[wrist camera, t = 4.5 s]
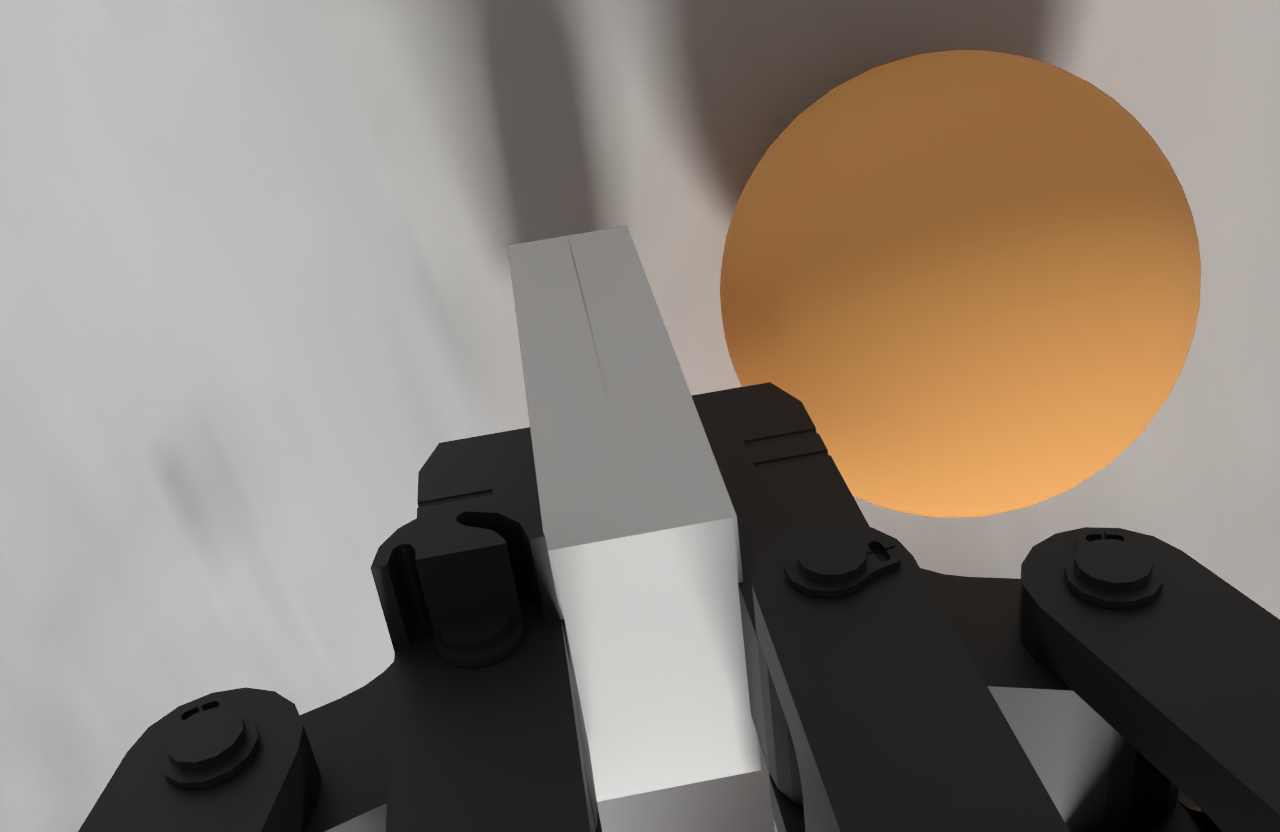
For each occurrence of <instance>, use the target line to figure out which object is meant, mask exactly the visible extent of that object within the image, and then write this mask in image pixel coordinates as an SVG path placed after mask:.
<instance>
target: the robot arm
mask: <svg viewBox="0 0 1280 832" xmlns="http://www.w3.org/2000/svg"><path fill="white" fill-rule="evenodd" d="M508 252H509V260H510V269H511V277H512V285H513V293H514V301H515V309H516V317H517V325H518V333H519V341H520V349H521V357H522V365H523V373H524V381H525V389H526V397H527V406H528V414H529V422H530V427H529V428H523V429H518V430H512V431H506V432H500V433H495V434H489V435H483V436H477V437H472V438H466V439H460V440H454V441H448V442H443V443H439V444H438V446H437V447H436V449H435V450H434V452H433V453H432V454H431V456H430V457H429V459H428V460H427V461H426V463H425V464H424V466H423V467H422V468H421V470H420V471H419V478H418V507H419V508H417V519H415V520H413V521H411V522H410V523H408V524H406V525H404V526H402V527H400V528H398V529H397V530H396V531H395V532H394V533H393V534H392V535H391V536H390V537H389V538H388V539H387V540H386V541H385V542H384V543H383V544H382V545H381V546H380V547H379V549H378V551H377V554H376V556H375V559H374V561H373V564H372V566H371V571H372V574H373V578H374V581H375V585H376V588H377V592H378V595H379V599H380V602H381V606H382V609H383V613H384V616H385V620H386V623H387V627H388V630H389V634H390V637H391V641H392V644H393V648H394V651H395V658H394V662H393V663H392V664H391V665H390V666H389V667H388V668H387V669H386V670H385V671H384V672H383V673H382V674H380V675H379V676H378V677H376V678H375V679H374V680H372V681H371V682H369V683H368V684H367V685H365V686H364V687H362V688H360V689H358V690H356V691H354V692H352V693H350V694H348V695H346V696H344V697H342V698H340V699H338V700H336V701H333V702H331V703H328V704H326V705H324V706H321V707H319V708H317V709H314V710H312V711H309V712H307V713H305V714H302V715H300V716H299V713H298V711H297V709H296V706H295V704H294V703H292V702H290V701H289V700H287V699H286V698H284V697H282V696H281V695H279V694H278V693H276V692H274V691H267V690H259V689H252V688H241V689H234V690H228V691H222V692H215V693H211V694H209V695H206V696H204V697H201V698H199V699H196V700H194V701H191V702H189V703H186V704H184V705H182V706H179V707H177V708H176V709H175V710H173V711H172V712H170V713H169V714H167V715H166V716H164V717H163V718H162V719H160V720H159V721H157V722H156V723H154V724H153V725H151V726H150V727H149V728H148V729H147V730H146V731H145V732H144V733H143V735H142V736H141V737H140V738H139V739H138V740H137V742H136V743H135V744H134V745H133V746H132V747H131V749H130V750H129V751H128V752H127V753H126V755H125V757H124V758H123V760H122V762H121V763H120V765H119V766H118V768H117V770H116V771H115V773H114V775H113V776H112V778H111V779H110V781H109V783H108V784H107V786H106V788H105V789H104V791H103V792H102V794H101V796H100V797H99V799H98V801H97V802H96V804H95V805H94V807H93V809H92V810H91V812H90V813H89V815H88V817H87V818H86V820H85V822H84V823H83V825H82V826H81V828H80V830H79V831H78V832H602V828H601V823H600V818H599V813H598V807H597V802H599V801H604V800H609V799H614V798H620V797H625V796H630V795H635V794H640V793H645V792H651V791H656V790H661V789H666V788H671V787H676V786H682V785H687V784H692V783H697V782H702V781H707V780H712V779H718V778H723V777H728V776H733V775H738V774H743V773H749V772H754V771H759V770H761V761H760V750H759V741H760V745H761V748H762V751H763V754H764V757H765V760H766V764H767V767H768V770H769V775H770V786H771V797H772V808H773V818H774V829H775V832H1280V620H1279V619H1278V618H1277V617H1275V616H1274V615H1272V614H1271V613H1269V612H1268V611H1267V610H1265V609H1264V608H1262V607H1261V606H1260V605H1258V604H1257V603H1255V602H1254V601H1252V600H1251V599H1250V598H1248V597H1247V596H1245V595H1244V594H1242V593H1241V592H1240V591H1238V590H1237V589H1235V588H1234V587H1233V586H1231V585H1230V584H1228V583H1227V582H1225V581H1224V580H1223V579H1221V578H1220V577H1218V576H1217V575H1215V574H1214V573H1213V572H1211V571H1210V570H1208V569H1207V568H1205V567H1204V566H1203V565H1201V564H1200V563H1198V562H1197V561H1196V560H1194V559H1193V558H1191V557H1190V556H1188V555H1187V554H1186V553H1184V552H1183V551H1181V550H1179V549H1177V548H1175V547H1173V546H1171V545H1169V544H1167V543H1165V542H1163V541H1161V540H1159V539H1157V538H1155V537H1154V536H1150V535H1145V534H1141V533H1137V532H1133V531H1129V530H1125V529H1120V528H1086V527H1085V528H1081V529H1076V530H1071V531H1067V532H1062V533H1057V534H1054V535H1053V536H1051V537H1049V538H1047V539H1046V540H1044V541H1042V542H1040V543H1039V544H1037V545H1035V546H1033V547H1032V549H1031V551H1030V552H1029V554H1028V555H1027V557H1026V558H1025V560H1024V562H1023V563H1022V565H1021V579H1009V578H978V577H963V576H954V575H944V574H940V573H936V572H933V571H929V570H925V569H921V568H920V567H919V566H918V564H917V562H916V560H915V559H914V557H913V556H912V554H911V553H910V552H909V551H908V550H907V549H906V548H905V547H904V546H903V545H902V544H901V543H900V542H899V541H898V540H897V539H895V538H893V537H891V536H889V535H887V534H884V533H882V532H880V531H878V530H876V529H874V528H871V527H869V525H868V523H867V521H866V520H865V518H864V516H863V514H862V512H861V510H860V508H859V507H858V505H857V503H856V501H855V499H854V497H853V496H852V494H851V492H850V490H849V488H848V486H847V484H846V483H845V481H844V479H843V477H842V475H841V473H840V472H839V470H838V468H837V466H836V464H835V462H834V460H833V459H832V457H831V455H828V449H827V448H826V446H825V444H824V442H823V440H822V438H821V436H820V435H819V433H818V434H817V432H816V427H815V425H814V424H813V422H812V420H811V418H810V416H809V414H808V412H807V411H806V409H805V407H804V405H803V403H802V402H801V401H800V400H798V399H796V398H795V397H793V396H792V395H790V394H788V393H787V392H785V391H784V390H782V389H780V388H779V387H777V386H776V385H774V384H772V383H771V382H768V383H762V384H757V385H751V386H745V387H739V388H733V389H728V390H722V391H716V392H710V393H705V394H699V395H693V396H691V394H690V391H689V388H688V386H687V383H686V380H685V378H684V375H683V372H682V370H681V367H680V365H679V362H678V359H677V357H676V354H675V351H674V349H673V346H672V343H671V341H670V338H669V335H668V333H667V330H666V327H665V325H664V322H663V319H662V317H661V314H660V311H659V309H658V306H657V304H656V301H655V298H654V296H653V293H652V290H651V288H650V285H649V282H648V280H647V277H646V274H645V272H644V269H643V266H642V264H641V261H640V258H639V256H638V253H637V251H636V248H635V245H634V243H633V240H632V237H631V235H630V232H629V229H628V227H627V226H622V227H616V228H610V229H604V230H598V231H592V232H586V233H580V234H574V235H567V236H561V237H555V238H549V239H543V240H537V241H531V242H525V243H519V244H513V245H508ZM758 738H759V740H758Z"/></svg>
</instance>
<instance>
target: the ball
mask: <svg viewBox="0 0 1280 832" xmlns="http://www.w3.org/2000/svg"><path fill="white" fill-rule="evenodd" d="M1200 280H1201V263H1200V253H1199V243H1198V237H1197V233H1196V229H1195V224H1194V220H1193V216H1192V212H1191V210H1190V207H1189V204H1188V202H1187V199H1186V196H1185V193H1184V191H1183V188H1182V186H1181V184H1180V182H1179V180H1178V178H1177V176H1176V174H1175V172H1174V170H1173V169H1172V167H1171V165H1170V163H1169V161H1168V160H1167V158H1166V157H1165V155H1164V154H1163V152H1162V151H1161V149H1160V148H1159V146H1158V145H1157V144H1156V142H1155V141H1154V139H1153V138H1152V137H1151V136H1150V134H1149V133H1148V132H1147V131H1146V130H1145V129H1144V128H1143V127H1142V125H1141V124H1140V123H1139V122H1138V121H1137V120H1136V119H1135V117H1133V116H1132V115H1131V114H1130V113H1129V112H1128V111H1127V110H1126V109H1124V108H1123V107H1122V106H1121V105H1120V104H1119V103H1118V102H1117V101H1115V100H1114V99H1113V98H1112V97H1110V96H1109V95H1107V94H1106V93H1104V92H1103V91H1101V90H1100V89H1098V88H1097V87H1095V86H1094V85H1092V84H1091V83H1089V82H1087V81H1085V80H1083V79H1081V78H1079V77H1077V76H1075V75H1073V74H1071V73H1069V72H1067V71H1065V70H1062V69H1060V68H1058V67H1056V66H1053V65H1050V64H1047V63H1044V62H1041V61H1038V60H1035V59H1033V58H1029V57H1024V56H1018V55H1013V54H1007V53H1001V52H995V51H988V50H951V51H940V52H932V53H925V54H918V55H914V56H910V57H907V58H903V59H900V60H897V61H893V62H890V63H887V64H884V65H881V66H877V67H874V68H872V69H870V70H868V71H866V72H864V73H862V74H860V75H858V76H856V77H854V78H852V79H850V80H848V81H847V82H845V83H843V84H841V85H839V86H837V87H835V88H833V89H832V90H830V91H829V92H828V93H826V94H825V95H824V96H822V97H821V98H820V99H818V100H817V101H816V102H815V103H813V104H812V105H811V106H809V107H808V108H807V109H806V110H804V111H803V112H802V113H800V114H799V115H798V116H797V117H796V118H795V119H794V120H793V121H792V122H791V123H790V124H789V126H788V127H787V128H786V129H785V130H784V131H783V132H782V133H781V134H780V135H779V136H778V138H777V139H776V140H775V141H774V142H773V143H772V144H771V145H770V147H769V148H768V149H767V151H766V152H765V154H764V155H763V157H762V158H761V160H760V161H759V163H758V164H757V166H756V168H755V169H754V171H753V173H752V174H751V176H750V178H749V179H748V181H747V183H746V185H745V187H744V189H743V191H742V194H741V196H740V198H739V200H738V203H737V206H736V208H735V211H734V214H733V217H732V219H731V223H730V226H729V229H728V233H727V236H726V242H725V248H724V254H723V261H722V268H721V281H720V298H721V312H722V319H723V326H724V333H725V339H726V343H727V347H728V351H729V355H730V358H731V360H732V363H733V366H734V369H735V372H736V374H737V377H738V379H739V381H740V383H741V386H742V387H745V386H751V385H757V384H762V383H768V382H771V383H772V384H774V385H776V386H777V387H779V388H780V389H782V390H784V391H785V392H787V393H788V394H790V395H792V396H793V397H795V398H796V399H798V400H800V401H801V402H802V403H803V405H804V407H805V409H806V411H807V412H808V414H809V416H810V418H811V420H812V422H813V424H814V425H815V427H816V432H817V434H818V433H819V435H820V436H821V438H822V440H823V442H824V444H825V446H826V448H827V449H828V455H831V457H832V459H833V460H834V462H835V464H836V466H837V468H838V470H839V472H840V473H841V475H842V477H843V479H844V481H845V483H846V484H847V486H848V488H849V490H850V492H851V494H852V495H853V496H855V497H858V498H860V499H863V500H865V501H868V502H870V503H873V504H876V505H878V506H881V507H884V508H887V509H892V510H896V511H900V512H905V513H910V514H916V515H921V516H931V517H941V518H950V517H977V516H988V515H993V514H998V513H1002V512H1007V511H1012V510H1016V509H1021V508H1025V507H1029V506H1031V505H1034V504H1036V503H1039V502H1041V501H1044V500H1046V499H1049V498H1051V497H1053V496H1056V495H1058V494H1061V493H1063V492H1065V491H1068V490H1070V489H1072V488H1073V487H1075V486H1076V485H1078V484H1079V483H1081V482H1082V481H1084V480H1086V479H1087V478H1089V477H1090V476H1092V475H1093V474H1095V473H1096V472H1098V471H1100V470H1101V469H1103V468H1104V467H1106V466H1107V465H1109V464H1110V463H1111V462H1112V461H1113V460H1114V459H1115V458H1116V457H1117V456H1118V455H1119V454H1120V453H1122V452H1123V451H1124V450H1125V449H1126V448H1127V447H1128V446H1129V445H1130V444H1131V443H1132V442H1133V441H1134V440H1135V439H1136V438H1137V437H1138V436H1139V435H1140V434H1142V432H1143V431H1144V430H1145V428H1146V427H1147V426H1148V424H1149V423H1150V422H1151V420H1152V419H1153V418H1154V416H1155V415H1156V414H1157V412H1158V411H1159V409H1160V408H1161V406H1162V405H1163V404H1164V402H1165V401H1166V399H1167V398H1168V396H1169V394H1170V392H1171V390H1172V388H1173V386H1174V384H1175V383H1176V381H1177V379H1178V377H1179V375H1180V373H1181V370H1182V367H1183V365H1184V362H1185V359H1186V357H1187V354H1188V351H1189V348H1190V345H1191V342H1192V339H1193V336H1194V333H1195V327H1196V322H1197V316H1198V310H1199V302H1200Z"/></svg>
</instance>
